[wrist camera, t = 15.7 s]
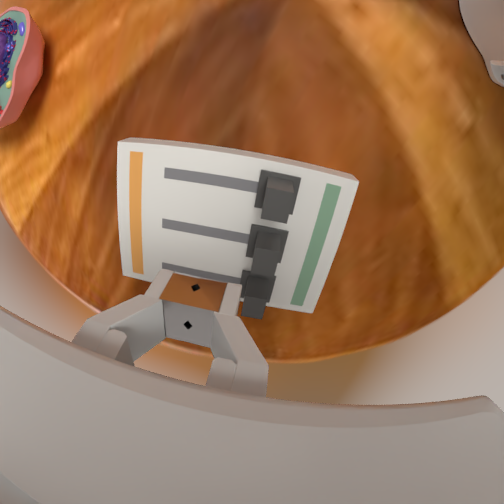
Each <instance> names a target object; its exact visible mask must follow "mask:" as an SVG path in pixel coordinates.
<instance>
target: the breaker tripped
mask: <svg viewBox="0 0 504 504" xmlns="http://www.w3.org/2000/svg"><path fill="white" fill-rule="evenodd" d="M288 233H289V231H287V230H282V229H277V228H272V227H267V226H262V225H256V224H252V225H251V230H250V236H249V241H248V246H247V252H246V257H250V258H253V260H252V266H251V272H250V273H252V274H258V275H263V276H268V277H274V275H275V271H276V267H277V264H278V263H281V260H282V256H283V252H284V248H285V245H286V241H287V237H288Z"/></svg>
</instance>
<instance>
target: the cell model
mask: <svg viewBox="0 0 504 504" xmlns="http://www.w3.org/2000/svg"><path fill="white" fill-rule="evenodd" d="M44 49H45V41H44V38H43V37H42V34H41V31H40V29H39V27H38V25H37V24H36V23H35V21H34V20H33V18H32V17H31V15H30V14H29V12H28V11H27V10H26V9H24V8H21V7H11V8H9V9H7V10H6V11H5V12H3V13H2V14H1V15H0V129H1V128H4V127H6V126H8V125H10V124H12V123H14V122H16V121H17V119H18V118H19V117H20V115H21V113H22V111H23V109H24V107H25V105H26V103H27V101H28V99H29V97H30V96H31V94H32V92H33V91H34V89H35V87H36V86H37V84H38V82H39V81H40V79H41V78H42V75H43V56H44Z"/></svg>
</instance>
